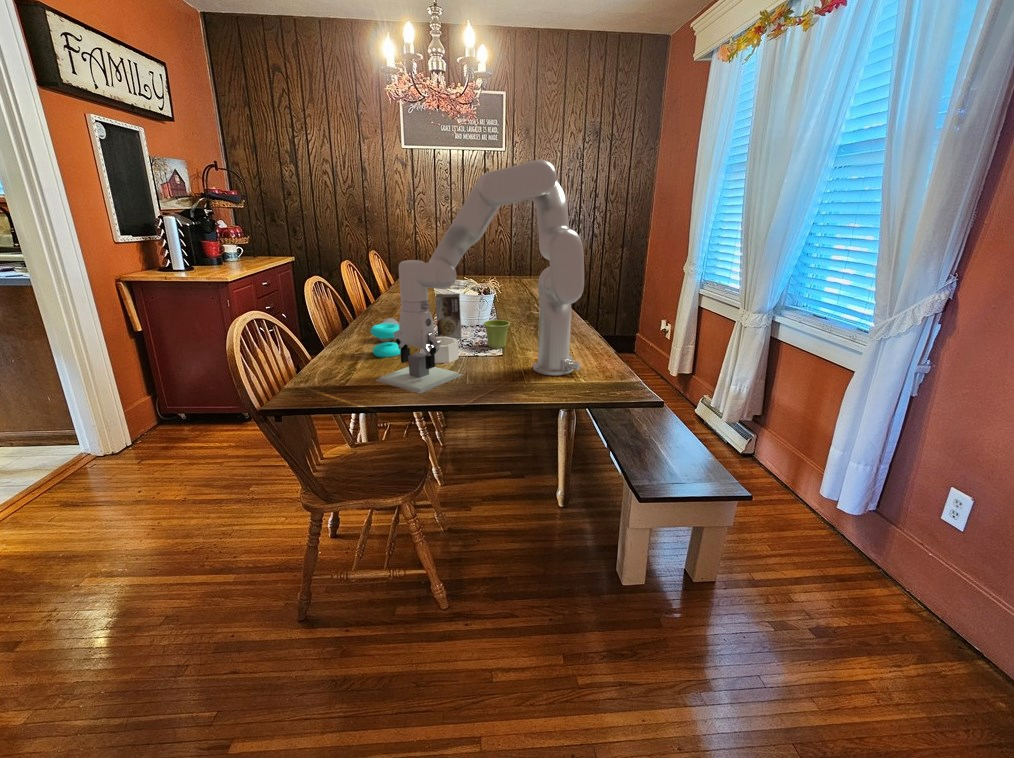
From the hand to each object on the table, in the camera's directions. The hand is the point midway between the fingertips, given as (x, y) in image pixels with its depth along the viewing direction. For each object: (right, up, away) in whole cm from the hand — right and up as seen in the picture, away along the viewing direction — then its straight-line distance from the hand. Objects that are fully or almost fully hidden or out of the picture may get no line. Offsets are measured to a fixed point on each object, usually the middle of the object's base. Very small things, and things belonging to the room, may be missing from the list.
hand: (417, 364), depth 138 cm
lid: (0, -4, +1) cm, 4 cm away
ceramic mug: (-17, +10, +41) cm, 46 cm away
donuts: (-15, +4, +25) cm, 29 cm away
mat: (0, -4, +2) cm, 5 cm away
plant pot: (+22, +7, +34) cm, 41 cm away
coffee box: (+4, +12, +47) cm, 49 cm away
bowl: (+4, +2, +20) cm, 20 cm away
